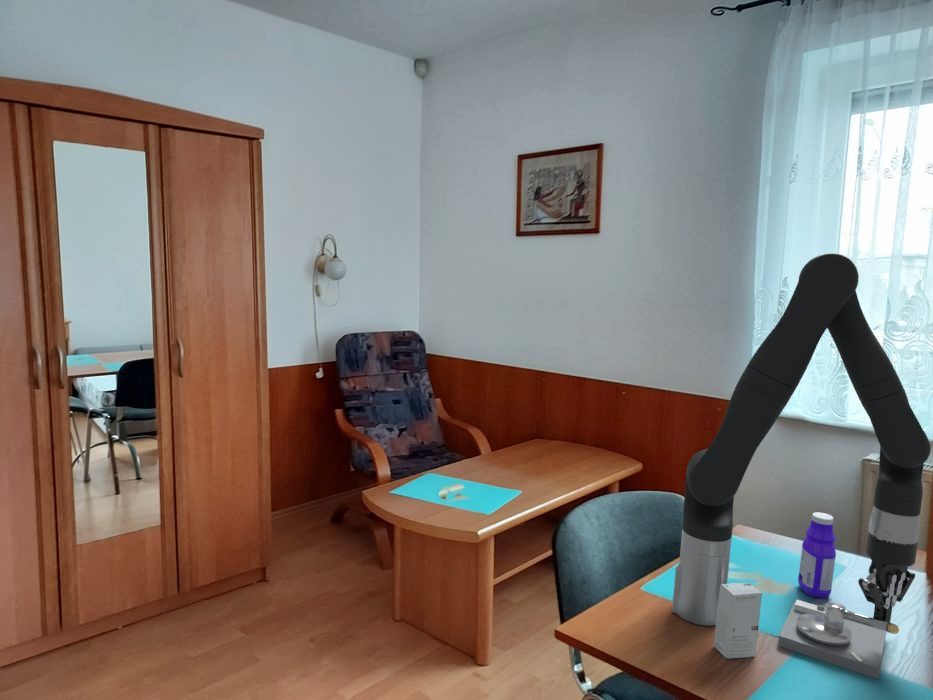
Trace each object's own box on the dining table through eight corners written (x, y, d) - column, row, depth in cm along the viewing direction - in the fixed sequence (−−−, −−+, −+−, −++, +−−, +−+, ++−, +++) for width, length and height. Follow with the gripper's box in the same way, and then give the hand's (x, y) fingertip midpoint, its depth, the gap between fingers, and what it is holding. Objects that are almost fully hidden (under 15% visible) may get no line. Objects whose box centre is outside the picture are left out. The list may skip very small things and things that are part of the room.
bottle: (835, 600, 142) (845, 522, 140) (809, 599, 142) (818, 521, 140) (818, 584, 149) (827, 509, 147) (792, 583, 149) (801, 508, 147)
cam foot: (792, 634, 124) (795, 605, 123) (801, 614, 131) (804, 586, 131) (893, 667, 115) (898, 635, 114) (897, 643, 122) (901, 614, 121)
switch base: (777, 645, 124) (780, 625, 124) (793, 610, 137) (795, 592, 137) (878, 679, 115) (881, 657, 115) (885, 638, 128) (887, 619, 128)
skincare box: (726, 660, 119) (733, 595, 117) (712, 645, 123) (718, 583, 122) (757, 656, 121) (764, 593, 119) (741, 642, 125) (748, 581, 123)
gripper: (895, 520, 126) (884, 607, 128) (848, 530, 120) (837, 621, 122) (937, 536, 119) (924, 627, 121) (890, 547, 113) (877, 642, 116)
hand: (881, 624), depth 122 cm, fingers closed
